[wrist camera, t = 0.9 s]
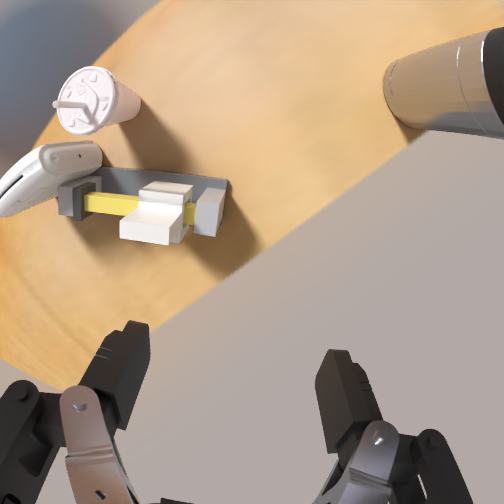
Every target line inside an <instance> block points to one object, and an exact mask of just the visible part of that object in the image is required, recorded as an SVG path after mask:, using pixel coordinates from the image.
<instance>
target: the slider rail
mask: <svg viewBox="0 0 504 504" xmlns="http://www.w3.org/2000/svg"><path fill="white" fill-rule="evenodd" d="M154 181H159V182H169V183H177V184H186V185H194V186H193V194H192V203H188V202H186V203H185V208H184V219H183V224H188V225H194V234H201V235H208V236H214V237H215V236H216V233H217V230H218V227H219V224H220V225H221V223H222V217H223V210H224V203H225V196H226V189H227V182H228V179H221V178H213V177H206V176H198V175H190V174H181V173H172V172H162V171H152V170H141V169H129V168H116V167H100V168H98V169H97V170H96V171H95V172H94V173H92V174H91V175H89V176H87V177H83V178H80V179H77V180H74V181H71V182H69V183H66V184H64V185H61V186H58V208H59V215H65V216H72V217H73V220H78V221H82V220H83V219H85V218H86V217H88V216H89V215H91V214H93V213H94V212H98V213H106V214H114V215H122V216H126V215H128V214H129V213H130V212H132V211H133V210H134V209H136V208H137V207H138V201H139V190H140V189H142V188H143V187H145V186H147V185H149V184H150V183H152V182H154Z"/></svg>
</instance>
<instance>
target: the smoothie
mask: <svg viewBox="0 0 504 504" xmlns="http://www.w3.org/2000/svg"><path fill="white" fill-rule="evenodd" d="M53 107H54V108H57V114H58V118H59V121H60V123H61V125H62V126H63V128H64V129H65V130H67V131H68V132H70V133H72V134H75V135H90V134H92V133H95V132H97V131H99V130H100V129H102V128H103V127H106V126H109V125H113V124H116V123H120V122H124V121H128V120H131V119H132V118H134V117H135V116H136V115H137V114H138V112H139V110H140V107H141V99H140V97H139V95H138V94H137V93H136V92H134V91H133V90H131V89H130V88H128V87H127V86H125V85H124V84H122V83H121V82H119V81H118V80H116V78H115V77H114V75H113V74H112V73H111V72H110V71H108V70H106V69H105V68H101V67H95V66H89V67H85V68H82V69H80V70H78V71H76V72H75V73H74V74H72V75H71V76H70V77H69V78H68V79H67V81H66V82H65V83H64V85H63V87H62V89H61V91H60V94H59V97H58V101H54V102H53Z"/></svg>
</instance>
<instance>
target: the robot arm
mask: <svg viewBox="0 0 504 504" xmlns="http://www.w3.org/2000/svg"><path fill="white" fill-rule="evenodd" d="M383 89H384V95H385V98H386V101H387V104H388V106H389V108H390V110H391V111H392V112H393V114H394V115H395V116H396V117H397V118H398V119H399V120H400V121H401V122H402V123H404V124H405V125H407V126H409V127H412V128H415V129H425V130H436V131H446V132H455V133H464V134H471V135H478V136H485V137H491V138H497V139H503V140H504V27H501V28H497V29H493V30H489V31H485V32H481V33H477V34H473V35H470V36H466V37H463V38H459V39H456V40H453V41H450V42H446V43H443V44H440V45H437V46H434V47H431V48H428V49H425V50H423V51H420V52H417V53H414V54H411V55H409V56H406V57H404V58H401V59H398V60H396V61H395V62H393V63H392V64H391V65H390V66H389V67H388V69H387V70H386V72H385V76H384V80H383ZM149 361H150V339H149V326H148V324H145V323H141V322H136V321H132V320H129V321H128V323H127V324H126V326H125V328H124V330H123V331H118V330H114V331H113V332H112V333H110V334H109V335H108V336H106V337H105V339H104V340H103V342H102V344H101V346H100V348H99V349H98V351H97V352H96V356H94V358H93V359H92V361H91V363H90V365H89V366H88V368H87V370H86V372H85V374H84V375H83V377H82V379H81V381H80V383H79V384H78V385H77V386H72V387H69V388H68V389H66V390H65V391H64V392H63V393H62V394H55V393H44V392H39V391H38V389H37V387H36V386H35V385H34V384H33V383H32V382H30V381H27V380H19V381H16V382H14V383H12V384H11V385H10V386H9V387H8V389H7V390H6V391H5V393H4V394H3V396H2V397H1V398H0V504H35V503H36V500H37V498H38V495H39V493H40V491H41V488H42V486H43V484H44V481H45V479H46V477H47V474H48V472H49V470H50V467H51V465H52V463H53V461H54V459H55V457H56V454H57V453H58V451H59V448H60V447H67V451H68V456H66V458H65V462H66V468H67V471H68V476H69V479H70V483H71V487H72V490H73V494H74V497H75V500H76V503H77V504H140V502H139V500H138V498H137V495H136V493H135V491H134V489H133V487H132V485H131V483H130V481H129V478H128V476H127V473H126V471H125V468H124V466H123V463H122V460H121V457H120V454H119V452H118V449H117V446H116V443H115V440H114V435H115V432H116V429H117V428H119V429H122V430H126V428H127V425H128V422H129V419H130V416H131V413H132V410H133V407H134V404H135V401H136V399H137V396H138V393H139V390H140V387H141V384H142V382H143V379H144V377H145V374H146V371H147V368H148V366H149ZM315 390H316V394H317V400H318V405H319V410H320V415H321V420H322V425H323V431H324V436H325V441H326V447H327V452H328V454H330V453H338V457H339V459H338V460H337V461H336V463H335V465H334V467H333V469H332V471H331V473H330V474H329V476H328V478H327V480H326V482H325V484H324V486H323V488H322V489H321V491H320V493H319V495H318V497H317V498H316V499H315V501H314V502H313V503H312V504H387V503H388V501H389V503H390V504H473V501H472V499H471V496H470V494H469V491H468V489H467V486H466V484H465V482H464V479H463V477H462V474H461V472H460V470H459V468H458V465H457V463H456V461H455V459H454V456H453V454H452V452H451V450H450V448H449V446H448V444H447V441H446V439H445V438H444V436H443V435H442V434H441V433H440V432H439V431H437V430H434V429H426V430H424V431H422V432H421V433H420V434H419V435H418V436H411V435H404V434H399V433H398V431H397V430H396V428H395V427H394V426H393V425H392V424H390V423H388V422H386V421H384V420H383V418H382V415H381V412H380V410H379V407H378V404H377V401H376V399H375V396H374V394H373V392H372V388H371V385H370V384H369V380H368V378H367V375H366V373H365V371H364V370H363V369H362V368H361V366H360V365H359V364H358V363H353V362H352V360H351V357H350V354H349V352H348V351H347V350H333V349H329V350H328V351H327V353H326V355H325V358H324V360H323V362H322V365H321V366H320V369H319V371H318V373H317V375H316V380H315ZM418 475H420V477H421V480H422V482H423V485H424V488H425V491H426V494H427V499H426V498H425V495H424V492H423V490H422V487H421V484H420V481H419V478H418ZM151 504H192V503H186V502H180V501H174V500H170V499H165V498H161V502H160V503H151Z"/></svg>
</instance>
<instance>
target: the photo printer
mask: <svg viewBox="0 0 504 504" xmlns="http://www.w3.org/2000/svg"><path fill="white" fill-rule="evenodd" d="M101 163H102V151H101V149H100V147H99V146H98V145H97V144H95V143H93V141H91V140H86V141H72V142H61V143H52V144H45V145H43V146H40V147H38V148H36V149H34V150H33V151H31V152H30V153H28V154H27V155H26V156H25V157H23V158H22V159H21V160H20V161H18V162H17V163H16V164H15V165H14V166H13V167H12V168H11V169H10V170H9V171H8V172H7V173H6V174H5V175H4V176H3V178H2V179H1V180H0V216H1V217H10V216H13V215H15V214H17V213H19V212H21V211H24V210H26V209H28V208H31V207H33V206H35V205H38V204H40V203H43V202H45V201H48V200H50V199H53V198H55V197H57V196H58V186H61V185H64V184H66V183H69V182H71V181H74V180H77V179H80V178H83V177H87V176H89V175H91V174H92V173H94V172H95V171H96V170H97V169H98V168H100V167H101V166H102V164H101Z"/></svg>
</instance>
